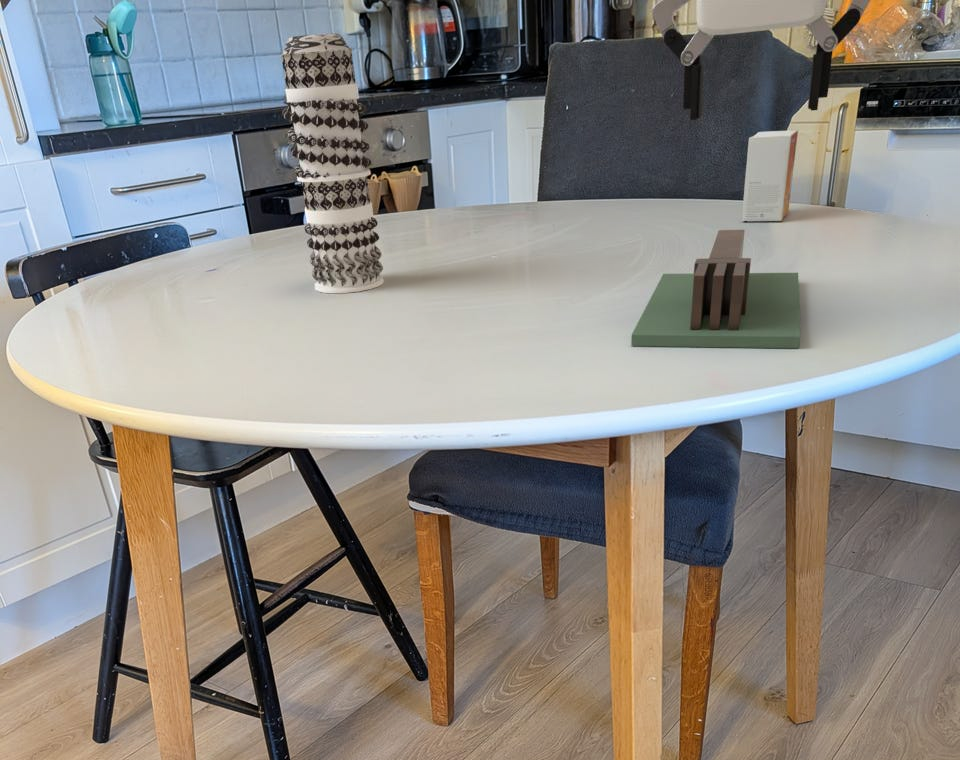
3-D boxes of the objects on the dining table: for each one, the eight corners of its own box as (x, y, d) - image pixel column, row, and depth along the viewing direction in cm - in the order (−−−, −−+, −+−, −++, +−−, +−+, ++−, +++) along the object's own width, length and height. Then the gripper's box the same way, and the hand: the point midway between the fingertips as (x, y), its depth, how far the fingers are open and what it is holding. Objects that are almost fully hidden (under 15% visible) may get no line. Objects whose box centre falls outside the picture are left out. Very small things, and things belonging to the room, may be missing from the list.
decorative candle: (304, 296, 102) (260, 38, 88) (318, 279, 110) (280, 39, 96) (381, 291, 101) (349, 31, 88) (390, 274, 109) (362, 32, 95)
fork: (704, 276, 93) (707, 230, 90) (751, 275, 92) (755, 229, 89) (685, 330, 76) (689, 275, 74) (742, 330, 75) (748, 275, 73)
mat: (798, 348, 73) (800, 336, 72) (631, 346, 77) (631, 334, 76) (797, 282, 92) (798, 272, 91) (662, 283, 96) (663, 273, 95)
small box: (781, 222, 121) (791, 135, 115) (740, 222, 123) (748, 136, 117) (789, 212, 127) (799, 129, 121) (749, 212, 129) (757, 131, 123)
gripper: (892, -163, 66) (858, 102, 75) (660, -125, 71) (656, 119, 80) (903, -181, 60) (864, 108, 69) (649, -139, 65) (645, 126, 74)
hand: (753, 114), depth 75 cm, fingers open, 9 cm apart
